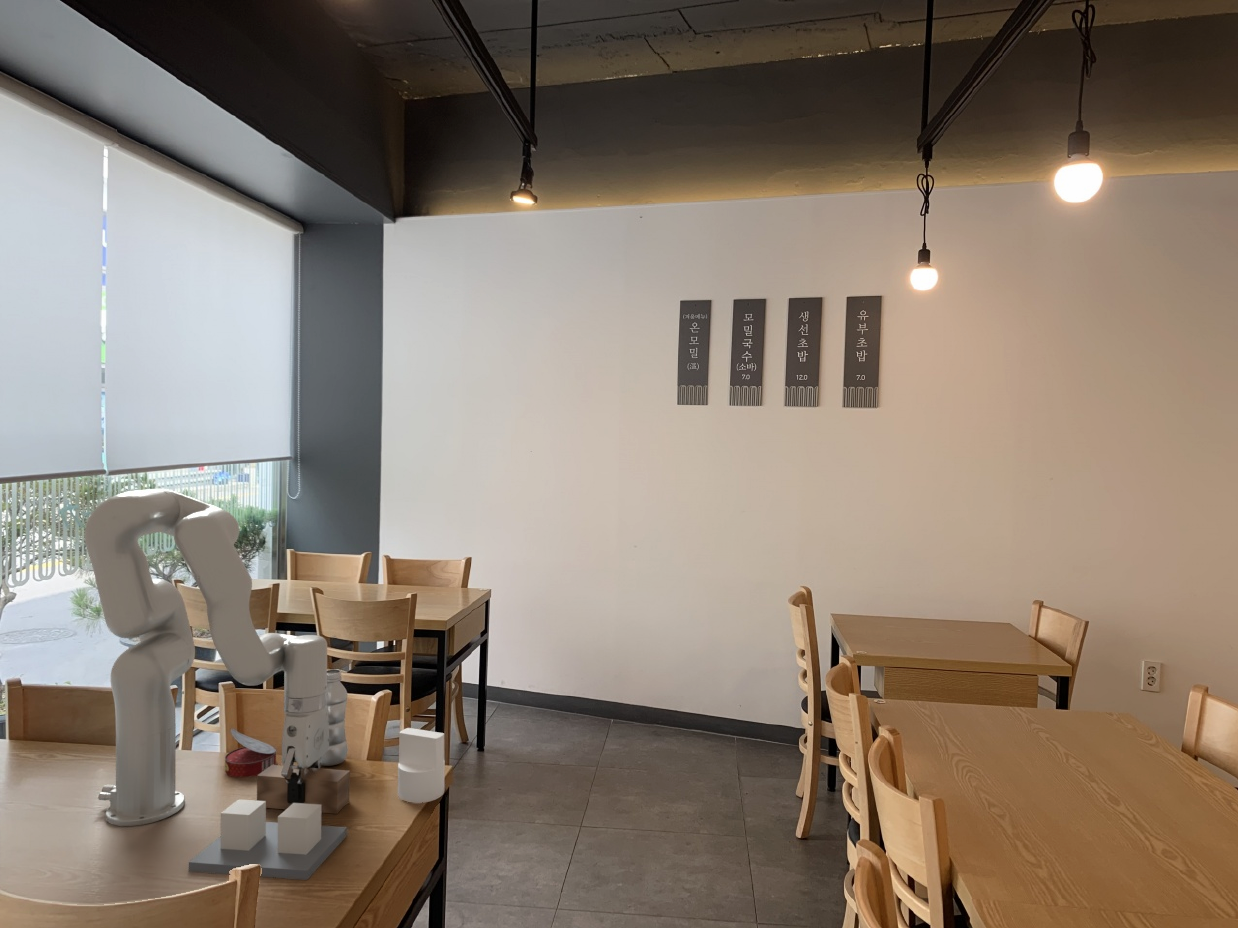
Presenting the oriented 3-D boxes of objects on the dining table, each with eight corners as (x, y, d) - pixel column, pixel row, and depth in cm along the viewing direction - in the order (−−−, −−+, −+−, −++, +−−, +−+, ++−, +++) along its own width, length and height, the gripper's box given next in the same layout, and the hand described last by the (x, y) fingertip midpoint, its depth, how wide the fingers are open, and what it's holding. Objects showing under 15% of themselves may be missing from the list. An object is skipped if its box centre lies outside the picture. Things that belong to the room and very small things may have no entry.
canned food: (239, 781, 167) (249, 733, 172) (282, 780, 166) (290, 731, 170) (206, 777, 157) (217, 726, 162) (251, 775, 156) (261, 724, 160)
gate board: (188, 871, 124) (188, 825, 123) (239, 828, 137) (239, 786, 137) (307, 879, 122) (307, 833, 121) (346, 835, 136) (347, 793, 135)
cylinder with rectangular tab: (452, 786, 156) (453, 728, 155) (428, 806, 147) (428, 744, 147) (414, 779, 159) (415, 722, 158) (388, 798, 150) (388, 737, 150)
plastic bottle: (352, 757, 169) (353, 667, 169) (338, 770, 162) (339, 676, 162) (324, 756, 170) (325, 666, 169) (309, 768, 163) (310, 675, 163)
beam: (256, 806, 145) (257, 775, 145) (271, 794, 150) (272, 764, 150) (336, 813, 143) (337, 781, 143) (349, 801, 148) (349, 770, 148)
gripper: (301, 718, 137) (299, 818, 138) (344, 688, 154) (342, 778, 155) (261, 715, 138) (260, 815, 139) (308, 686, 155) (307, 775, 156)
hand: (303, 794), depth 147 cm, fingers closed on beam, 5 cm apart
